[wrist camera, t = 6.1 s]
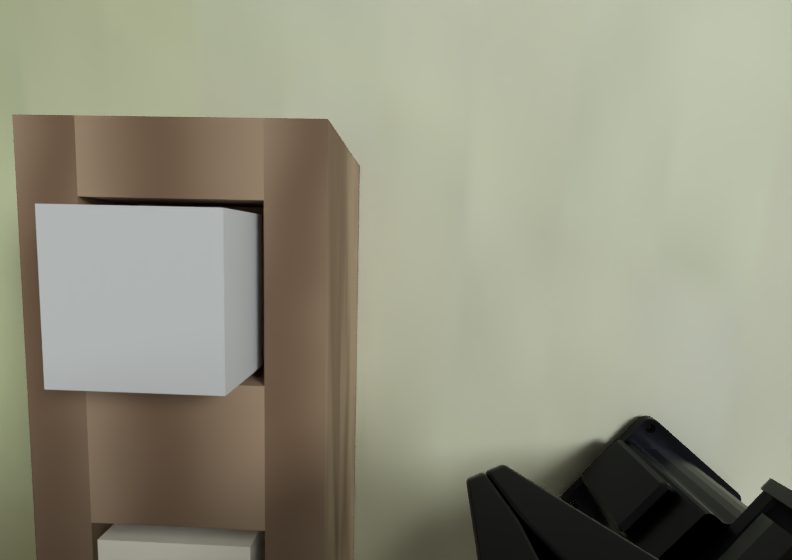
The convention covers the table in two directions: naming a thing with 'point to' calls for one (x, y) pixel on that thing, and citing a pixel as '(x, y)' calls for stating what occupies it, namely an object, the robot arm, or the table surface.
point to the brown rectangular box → (201, 414)
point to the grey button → (149, 298)
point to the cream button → (179, 543)
